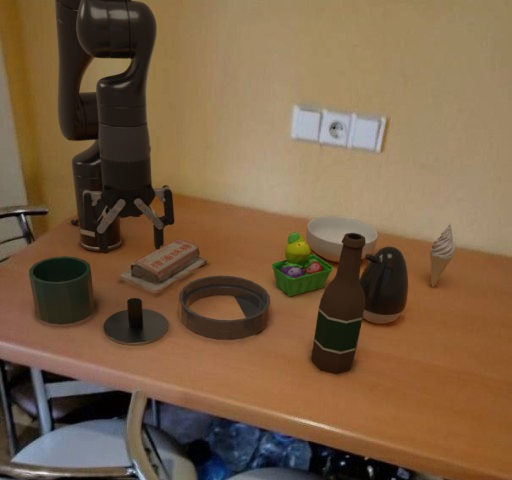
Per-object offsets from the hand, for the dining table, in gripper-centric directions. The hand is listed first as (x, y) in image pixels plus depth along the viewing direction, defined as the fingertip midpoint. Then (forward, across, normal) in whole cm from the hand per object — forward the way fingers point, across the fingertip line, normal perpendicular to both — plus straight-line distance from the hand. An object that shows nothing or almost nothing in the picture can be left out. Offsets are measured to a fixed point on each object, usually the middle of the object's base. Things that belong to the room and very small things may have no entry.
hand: (131, 249), depth 94 cm
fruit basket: (+16, -36, -10) cm, 41 cm away
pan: (+16, -17, -1) cm, 24 cm away
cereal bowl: (+16, -51, -22) cm, 58 cm away
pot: (+16, +12, -9) cm, 22 cm away
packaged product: (+16, -9, -21) cm, 28 cm away
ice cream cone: (+16, -66, -4) cm, 68 cm away
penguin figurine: (+16, -47, +5) cm, 50 cm away
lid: (+16, 0, 0) cm, 16 cm away
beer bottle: (+17, -32, +17) cm, 40 cm away
